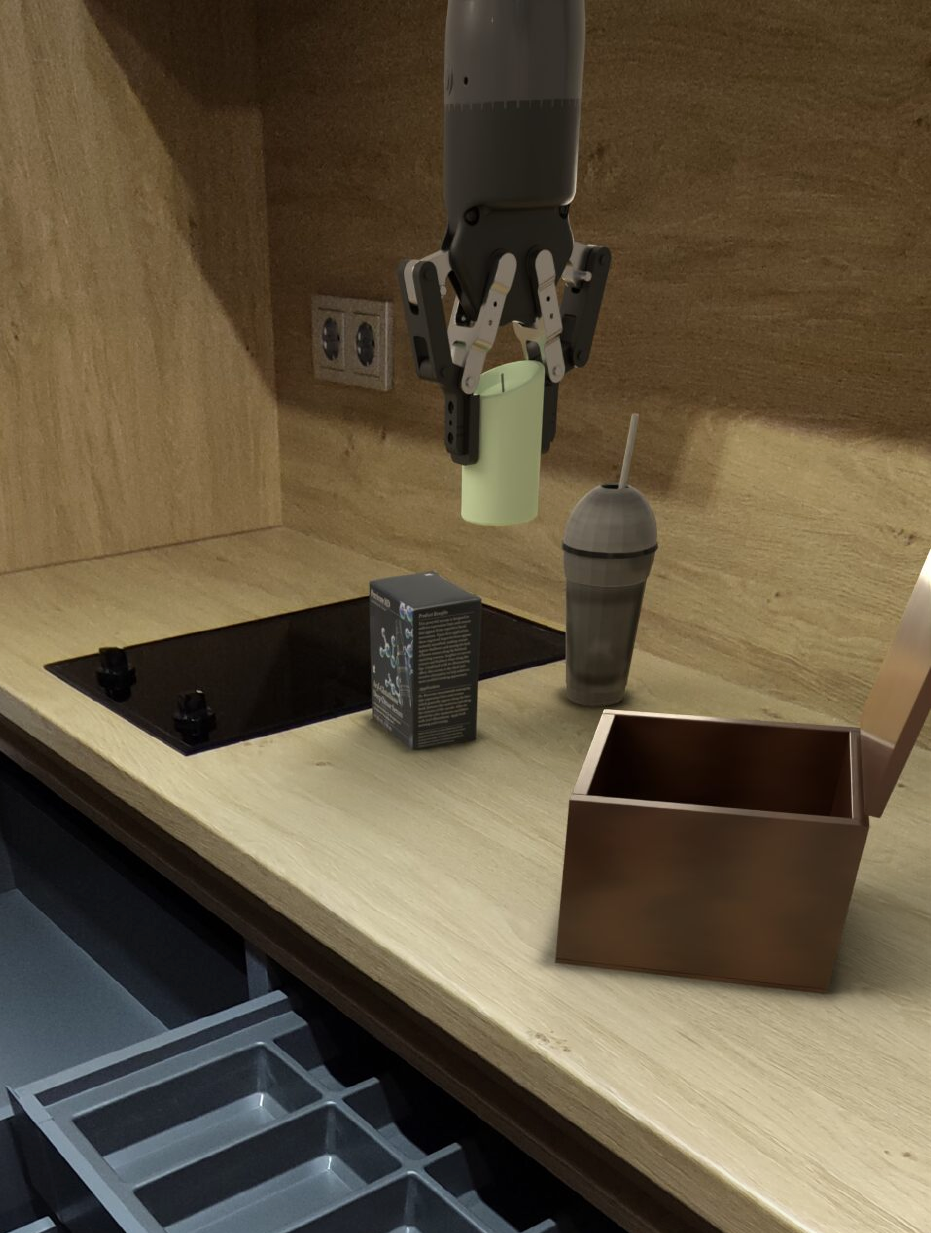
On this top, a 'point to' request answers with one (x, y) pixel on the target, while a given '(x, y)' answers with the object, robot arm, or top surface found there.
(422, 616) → the box
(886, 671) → the lid
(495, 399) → the candle
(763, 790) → the chest
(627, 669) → the beverage cup
